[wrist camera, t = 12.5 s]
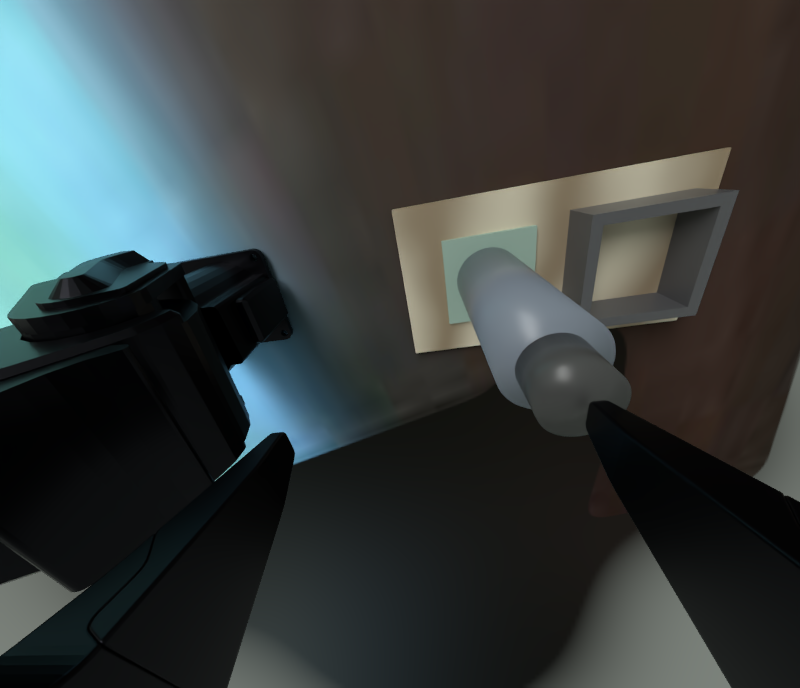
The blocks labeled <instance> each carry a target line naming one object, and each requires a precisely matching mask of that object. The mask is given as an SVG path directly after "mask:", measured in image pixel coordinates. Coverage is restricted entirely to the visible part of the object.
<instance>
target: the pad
mask: <svg viewBox="0 0 800 688" xmlns="http://www.w3.org/2000/svg"><path fill="white" fill-rule="evenodd" d="M536 243H537V225H532V226H526V227H520V228H514V229H508V230H502V231H497V232H491V233H485V234H479V235H473V236H467V237H461V238H455V239H449V240H444V241H441V244H442V254H443V264H444V274H445V284H446V294H447V304H448V314H449V323H450V324H454V323H461V322H469V321H471V320H470V318H469V315H468V313H467V310H466V308H465V305H464V303H463V300H462V298H461V295H460V293H459V290H458V286H457V278H458V273H459V270H460V268H461V266H462V264H463V263H464V262H465V260H466V259H467V258H468V257H469V256H471V255H472V254H473V253H475V252H477V251H479V250H481V249H484V248H490V247H497V248H502V249H505V250H507V251H509V252H510V253H511V254H513V255H514V256H515V257H517V258H518V259H519V260H521V261H522V262H523V263H524V264H526V265H527V266H528V267H530V268H531V269H532V270H534V271H535V262H536Z"/></svg>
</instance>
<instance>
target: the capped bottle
mask: <svg viewBox="0 0 800 688" xmlns="http://www.w3.org/2000/svg"><path fill="white" fill-rule="evenodd" d="M457 286H458V290H459V293H460V295H461V298H462V300H463V303H464V305H465V308H466V310H467V313H468V315H469V318H470V320H471V322H472V325H473V327H474V330H475V332H476V335H477V337H478V340H479V342H480V345H481V347H482V349H483V352H484V354H485V357H486V359H487V362H488V364H489V367H490V369H491V372H492V374H493V376H494V379H495V381H496V384H497V386H498V388H499V390H500V391H501V393H502V394H503V395H504V396H505V397H506V398H507V399H508V400H510V401H511V402H513V403H514V404H516V405H519V406H521V407H525V408H528V409H532V411H533V413H534V415H535V417H536V418H537V420H538V422H539V424H540V425H541V426H542V427H543V428H544V429H545V430H547V431H549V432H550V433H553V434H555V435H559V436H565V437H577V436H584V435H588V432H587V429H586V418H587V413H588V407H589V404H590V403H591V402H592V401H601V400H607V401H610V402H612V403H614V404H616V405H618V406H620V407H621V408H623V409H625V410H626V409H627V407H628V405H629V402H630V400H631V387H630V384H629V382H628V380H627V379H626V378H625V377H624V376H623V375H622V374H621V373H620V372H619V371H618V370H617V369H616V368H615V367H613V363H614V360H615V354H616V348H615V342H614V339H613V336H612V334H611V333H610V331H609V330H608V328H607V327H606V326H605V325H604V324H603V323H601V322H600V321H599V320H597V319H596V318H595V317H593V316H592V315H591V314H590V313H588V312H587V311H586V310H584V309H583V308H582V307H580V306H579V305H578V304H577V303H575V302H574V301H573V300H571V299H570V298H569V297H567V296H566V295H565V294H564V293H562V292H561V291H560V290H558V289H557V288H556V287H554V286H553V285H552V284H551V283H549V282H548V281H547V280H545V279H544V278H543V277H541V276H540V275H539V274H537V273H536V272H535V271H534V270H532V269H531V268H530V267H528V266H527V265H526V264H524V263H523V262H522V261H521V260H519V259H518V258H517V257H515V256H514V255H513V254H511V253H510V252H509V251H507V250H505V249H502V248H497V247H490V248H484V249H481V250H479V251H477V252H475V253H473V254H472V255H471V256H469V257H468V258H467V259H466V260H465V262H464V263H463V264H462V266H461V268H460V270H459V273H458V278H457Z"/></svg>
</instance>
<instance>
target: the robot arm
mask: <svg viewBox="0 0 800 688" xmlns="http://www.w3.org/2000/svg"><path fill="white" fill-rule="evenodd" d="M252 254H254V255H256V256H257V260H255V259H253V257H252ZM287 314H288V311H287V309H286V306H285V304H284V301H283V298H282V296H281V293H280V291H279V288H278V285H277V283H276V281H275V280H274V279H273V278H272V276H271V273H270V271H269V268H268V266H267V263H266V261H265V258H264V256H263V254H262V252H261V251H260V250H258V249H249V250H243V251H238V252H232V253H226V254H221V255H215V256H210V257H204V258H199V259H193V260H188V261H182V262H177V263H169V264H166V262H155V263H154V262H153V261H152V260H151V261H149V260H148V259H146V258H145V257H143V256H142V255H140V254H138V253H137V252H135V251H134V250H133V251H123V252H118V253H114V254H110V255H107V256H103V257H99V258H96V259H92V260H89V261H86V262H83V263H81V264H79V265H78V266H76V267H75V268H73V269H72V270H70V271H69V272H66V273H63V274H62V275H61V276H59V277H58V278H57V279H54V280H50V281H46V282H42V283H38V284H35V285H32V286H31V287H30V288H29V289H28V290H27V291H26V293H25V294H24V295H23V296H22V298H21V299H20V300H19V301H18V302H17V304H16V305H15V306H14V307H13V308H12V310H11V311H10V312H9V313H8V315H7V318H8V319H9V320H10V321H11V322H12V324H13V325H11V326H8V327H4V328H1V329H0V585H2V584H5V583H8V582H11V581H14V580H17V579H20V578H23V577H26V576H29V575H32V574H35V573H38V572H41V571H42V572H43V573H45V574H46V575H48V576H49V577H50V578H52V579H53V580H55V581H56V582H57V583H59V584H60V585H62V586H63V587H64V588H66V589H67V590H69V591H70V592H77V591H81V590H83V589H85V588H87V587H89V586H90V585H91V586H90V587H89V588H88V589H86V590H85V591H84V592H82V593H81V594H80V595H79V596H77V597H76V598H75V599H74V600H72V601H71V602H70V603H68V604H67V605H66V606H64V607H63V608H62V609H61V610H59V611H58V612H57V613H55V614H54V615H53V616H52V617H50V618H49V619H48V620H47V621H45V622H44V623H43V624H41V625H40V626H39V627H38V628H36V629H35V630H34V631H32V632H31V633H30V634H29V635H27V636H26V637H25V638H23V639H22V640H21V641H20V642H18V643H17V644H16V645H15V646H13V647H12V648H10V649H9V650H8V651H6V652H5V653H4V654H2V655H1V656H0V688H227V687H228V684H229V681H230V677H231V674H232V671H233V667H234V665H235V662H236V658H237V655H238V652H239V649H240V646H241V642H242V639H243V636H244V633H245V630H246V626H247V623H248V620H249V617H250V614H251V611H252V607H253V604H254V601H255V598H256V595H257V591H258V588H259V585H260V582H261V579H262V576H263V572H264V569H265V566H266V563H267V560H268V556H269V553H270V550H271V547H272V544H273V541H274V537H275V534H276V531H277V528H278V525H279V521H280V518H281V515H282V512H283V508H284V505H285V500H286V496H287V491H288V486H289V481H290V477H291V472H292V467H293V462H294V457H295V452H294V449H293V447H292V445H291V443H290V441H289V439H288V437H287V435H286V434H285V433H284V432H279V433H272V434H270V435H269V436H267V437H266V438H265V439H264V440H263V441H262V442H260V443H259V444H258V445H257V446H256V447H255V448H253V449H252V450H251V451H250V452H249V453H248V454H246V455H245V456H244V457H243V458H242V459H241V460H239V461H238V462H237V463H236V464H235V465H234V466H232V467H231V468H230V469H229V470H228V471H227V472H225V471H226V470H227V469H228V468H229V467H230V466H231V465H232V464H233V463H234V462H235V461H236V460H237V459H238V457H239V456H240V455H241V453H242V452H243V451H244V450H245V448H246V444H245V442H244V441H245V439H246V436H247V433H248V430H249V427H250V420H249V414H248V412H247V410H246V407H245V403H244V400H243V398H242V396H241V395H240V394H239V392H238V390H237V388H236V386H235V384H234V381H233V379H232V377H231V375H230V373H229V371H230V370H231V369H232V368H233V367H234V366H235V365H236V364H241V363H242V362H243V361H244V360H245V359H246V358H247V357H248V356H249V355H250V354H251V352H252V351H253V350H254V349H255V348H256V347H257V346H258V345H259V344H260V343H262V342H269V341H277V340H284V339H288V338H290V337H291V335H292V334H293V330H292V327H291V325H290V322H289V319H288V317H287ZM283 330H285V331H287V333H288V334H286V333H284V332H283ZM586 429H587V432H588V434H589V437H590V439H591V441H592V443H593V445H594V448H595V450H596V452H597V454H598V456H599V458H600V461H601V463H602V465H603V467H604V469H605V472H606V474H607V476H608V478H609V480H610V482H611V484H612V486H613V488H614V489H615V491H616V493H617V495H618V496H619V498H620V500H621V501H622V503H623V505H624V507H625V508H626V510H627V512H628V513H629V515H630V517H631V518H632V520H633V522H634V523H635V525H636V527H637V528H638V530H639V532H640V534H641V535H642V537H643V539H644V540H645V542H646V544H647V545H648V547H649V549H650V550H651V552H652V554H653V556H654V557H655V559H656V561H657V562H658V564H659V566H660V567H661V569H662V571H663V573H664V574H665V576H666V578H667V579H668V581H669V583H670V584H671V586H672V588H673V589H674V591H675V593H676V595H677V596H678V598H679V600H680V601H681V603H682V605H683V607H684V608H685V610H686V611H687V613H688V615H689V617H690V618H691V620H692V622H693V623H694V625H695V627H696V629H697V630H698V632H699V634H700V635H701V637H702V639H703V640H704V642H705V644H706V645H707V647H708V649H709V650H710V652H711V654H712V655H713V657H714V659H715V661H716V662H717V664H718V666H719V668H720V669H721V671H722V673H723V674H724V676H725V678H726V679H727V681H728V683H729V684H730V686H731V688H800V502H799V501H797V500H795V499H793V498H791V497H789V496H784V495H783V493H781V492H780V491H778V490H776V489H774V488H772V487H770V486H768V485H767V484H764V483H763V482H761V481H759V480H757V479H755V478H753V477H751V476H750V475H748V474H746V473H744V472H742V471H740V470H738V469H736V468H734V467H733V466H731V465H729V464H727V463H725V462H723V461H721V460H719V459H718V458H716V457H714V456H712V455H710V454H708V453H706V452H704V451H702V450H701V449H699V448H697V447H695V446H693V445H691V444H689V443H687V442H685V441H684V440H682V439H680V438H678V437H676V436H674V435H672V434H670V433H669V432H667V431H665V430H663V429H661V428H659V427H657V426H655V425H653V424H652V423H650V422H648V421H646V420H644V419H642V418H640V417H638V416H636V415H635V414H633V413H631V412H629V411H627V410H625V409H623V408H621V407H620V406H618V405H616V404H614V403H612V402H610V401H607V400H601V401H592V402H591V403H590V404H589V407H588V413H587V418H586ZM224 472H225V473H224ZM223 473H224V474H223ZM222 474H223V475H222ZM221 475H222V476H221ZM220 476H221V477H220ZM218 477H220V478H218ZM217 478H218V479H217ZM216 479H217V480H216ZM215 480H216V481H215ZM92 584H93V585H92Z"/></svg>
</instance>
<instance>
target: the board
mask: <svg viewBox="0 0 800 688" xmlns="http://www.w3.org/2000/svg"><path fill="white" fill-rule="evenodd" d="M730 150H731V147H730V148H722V149H716V150H711V151H706V152H700V153H695V154H689V155H684V156H679V157H673V158H668V159H662V160H657V161H652V162H646V163H641V164H636V165H630V166H625V167H619V168H614V169H609V170H603V171H598V172H592V173H587V174H582V175H576V176H571V177H566V178H560V179H555V180H549V181H544V182H539V183H533V184H528V185H522V186H517V187H512V188H506V189H501V190H495V191H490V192H485V193H479V194H474V195H469V196H463V197H458V198H452V199H447V200H442V201H436V202H431V203H425V204H420V205H415V206H409V207H404V208H398V209H393V210H392V216H393V222H394V227H395V233H396V239H397V245H398V251H399V257H400V263H401V269H402V274H403V280H404V286H405V292H406V298H407V304H408V310H409V315H410V321H411V327H412V333H413V339H414V345H415V351H416V353H422V352H430V351H438V350H446V349H454V348H461V347H469V346H477V345H480V342H479V340H478V337H477V335H476V332H475V330H474V327H473V325H472V322H471V321H469V322H461V323H454V324H450V323H449V314H448V304H447V294H446V284H445V274H444V264H443V254H442V244H441V241H444V240H449V239H455V238H461V237H467V236H473V235H479V234H485V233H491V232H497V231H502V230H508V229H514V228H520V227H526V226H532V225H537V243H536V262H535V272H536V273H537V274H539V275H540V276H541V277H543V278H544V279H545V280H547V281H548V282H549V283H551V284H552V285H553V286H554V287H556V288H557V289H558V290H560V291H561V292H562V286H563V276H564V266H565V256H566V246H567V236H568V226H569V216H570V210H573V209H579V208H584V207H590V206H596V205H602V204H607V203H613V202H619V201H625V200H631V199H636V198H642V197H648V196H654V195H659V194H665V193H671V192H677V191H683V190H688V189H694V188H702V189H718V188H719V185H720V182H721V179H722V175H723V172H724V169H725V166H726V163H727V160H728V156H729V153H730ZM677 214H678V213H676V214H670V215H664V216H658V217H652V218H646V219H640V220H634V221H628V222H622V223H615V224H609V225H604V227H603V233H602V240H601V246H600V253H599V259H598V266H597V272H596V279H595V285H594V291H593V298H592V301H597V300H605V299H612V298H619V297H626V296H634V295H641V294H648V293H655V292H657V290H658V286H659V282H660V278H661V274H662V271H663V267H664V263H665V259H666V256H667V252H668V248H669V244H670V240H671V237H672V233H673V229H674V225H675V222H676V218H677ZM677 318H678V317H677ZM677 318H669V319H661V320H653V321H645V322H638V323H630V324H622V325H614V326H606V327H607V328H608V329H611V328H619V327H627V326H634V325H642V324H650V323H658V322H666V321H674V320H677Z"/></svg>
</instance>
